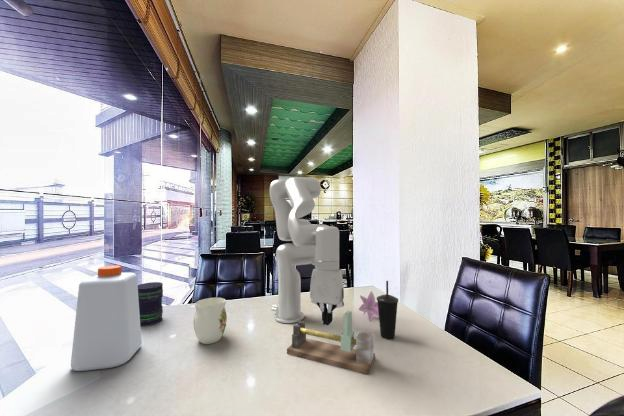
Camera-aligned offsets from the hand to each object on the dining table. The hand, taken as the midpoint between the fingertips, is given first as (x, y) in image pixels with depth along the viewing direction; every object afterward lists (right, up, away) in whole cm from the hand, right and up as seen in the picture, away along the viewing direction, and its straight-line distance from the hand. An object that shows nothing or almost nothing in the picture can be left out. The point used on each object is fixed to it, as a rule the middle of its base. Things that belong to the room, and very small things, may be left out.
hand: (327, 323), depth 83 cm
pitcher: (-41, -10, +11) cm, 44 cm away
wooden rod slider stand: (+1, -10, -1) cm, 10 cm away
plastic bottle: (-68, -10, -1) cm, 69 cm away
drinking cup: (+23, -10, +12) cm, 28 cm away
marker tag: (+6, -6, -3) cm, 9 cm away
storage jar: (-72, -11, +26) cm, 78 cm away
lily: (+20, -11, +30) cm, 38 cm away
